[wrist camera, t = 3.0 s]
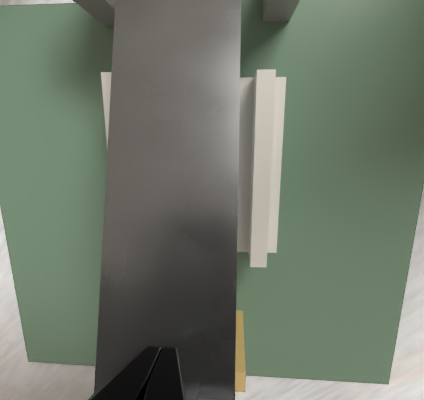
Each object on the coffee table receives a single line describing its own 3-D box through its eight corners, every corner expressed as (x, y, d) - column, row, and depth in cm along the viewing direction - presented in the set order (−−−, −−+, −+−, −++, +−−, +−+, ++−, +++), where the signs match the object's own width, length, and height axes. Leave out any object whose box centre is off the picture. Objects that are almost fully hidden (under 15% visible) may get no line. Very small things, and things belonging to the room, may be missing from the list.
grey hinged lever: (255, -49, 10) (260, -111, 8) (249, 420, 9) (254, 473, 7) (119, -43, 11) (94, -100, 9) (95, 408, 9) (60, 455, 7)
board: (442, -24, 13) (588, -133, 8) (378, 367, 18) (439, 469, 12) (-18, -6, 15) (-165, -85, 9) (40, 347, 19) (-33, 429, 14)
